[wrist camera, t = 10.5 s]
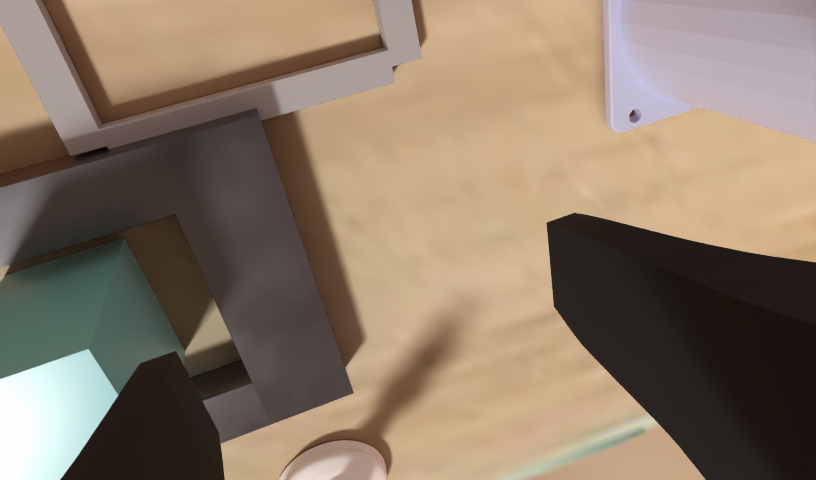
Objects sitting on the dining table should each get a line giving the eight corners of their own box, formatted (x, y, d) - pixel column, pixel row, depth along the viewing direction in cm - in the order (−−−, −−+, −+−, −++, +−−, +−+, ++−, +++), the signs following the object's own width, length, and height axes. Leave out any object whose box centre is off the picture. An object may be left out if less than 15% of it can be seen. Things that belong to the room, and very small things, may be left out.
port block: (255, 103, 17) (259, 114, 16) (345, 368, 23) (353, 392, 21) (-265, 247, 15) (-309, 274, 14) (-26, 505, 20) (-42, 542, 19)
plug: (124, 237, 18) (88, 349, 13) (185, 351, 20) (175, 484, 15) (5, 274, 17) (-84, 408, 12) (82, 387, 20) (34, 538, 14)
